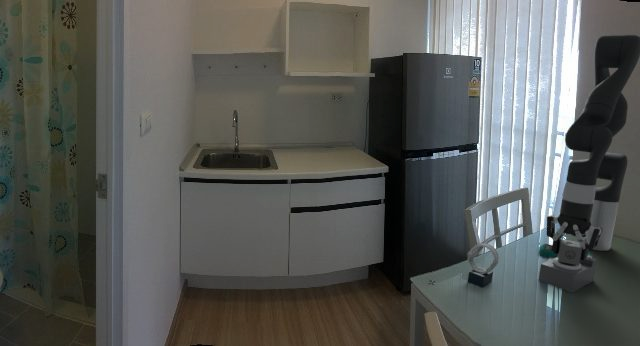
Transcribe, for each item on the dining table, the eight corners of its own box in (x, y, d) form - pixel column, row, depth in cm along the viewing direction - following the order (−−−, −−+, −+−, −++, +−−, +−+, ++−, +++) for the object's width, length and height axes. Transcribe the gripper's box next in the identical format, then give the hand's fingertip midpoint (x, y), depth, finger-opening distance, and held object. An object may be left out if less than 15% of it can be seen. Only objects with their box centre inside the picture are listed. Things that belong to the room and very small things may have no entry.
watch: (470, 274, 129) (475, 238, 127) (497, 284, 124) (503, 246, 122) (460, 279, 125) (465, 242, 123) (488, 290, 120) (494, 251, 118)
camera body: (561, 269, 136) (565, 247, 135) (593, 280, 130) (597, 257, 128) (538, 280, 128) (542, 256, 126) (571, 292, 121) (575, 267, 120)
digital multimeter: (540, 249, 154) (541, 241, 154) (590, 260, 147) (592, 252, 146) (537, 256, 148) (538, 247, 147) (589, 268, 140) (591, 259, 140)
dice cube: (557, 255, 129) (560, 238, 128) (577, 259, 127) (580, 242, 126) (558, 261, 125) (561, 244, 124) (579, 265, 123) (582, 247, 122)
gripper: (612, 203, 120) (601, 263, 123) (557, 191, 131) (548, 246, 134) (601, 207, 115) (589, 269, 119) (544, 194, 126) (536, 251, 130)
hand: (568, 256), depth 126 cm, fingers closed on dice cube, 6 cm apart
